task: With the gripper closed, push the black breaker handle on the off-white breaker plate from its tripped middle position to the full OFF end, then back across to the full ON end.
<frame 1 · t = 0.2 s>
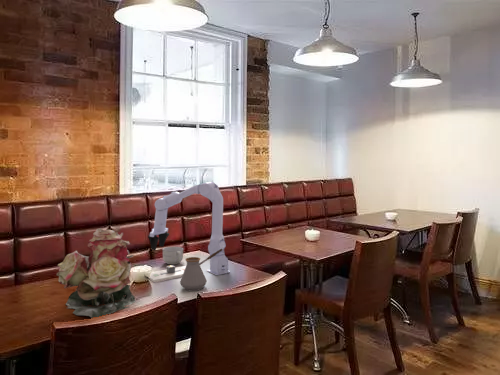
hand: (157, 248, 207), 10 cm above the table, tool pointing down, fingers open, 7 cm apart
rose bouquet: (102, 306, 159), on the table
teacup: (174, 264, 216), on the table
breaker handle: (170, 269, 196), point 3 cm above the table, slide at 3.5 cm
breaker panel: (170, 274, 196), on the table
coffee pot: (203, 286, 180), on the table
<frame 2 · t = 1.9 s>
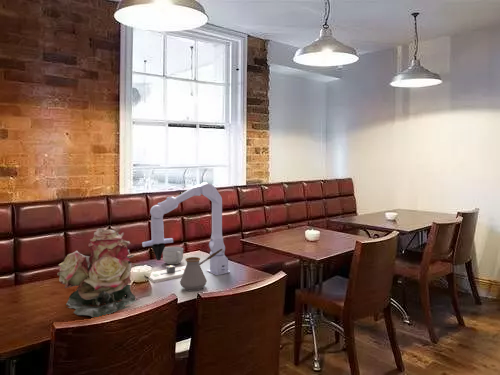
hand: (158, 259, 192), 8 cm above the table, tool pointing down, fingers closed
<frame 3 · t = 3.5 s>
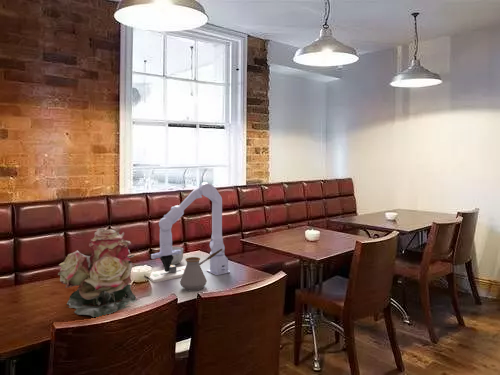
hand: (166, 271, 195), 2 cm above the table, tool pointing down, fingers closed
breaker handle: (172, 268, 197), point 3 cm above the table, slide at 2.8 cm, touching gripper
everything else where it was.
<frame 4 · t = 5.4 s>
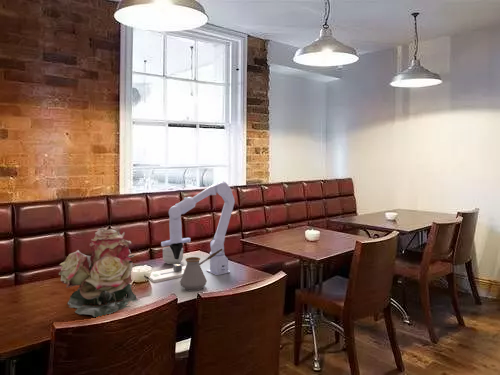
hand: (176, 258, 198), 7 cm above the table, tool pointing down, fingers closed
breaker handle: (177, 267, 198), point 3 cm above the table, slide at -0.1 cm
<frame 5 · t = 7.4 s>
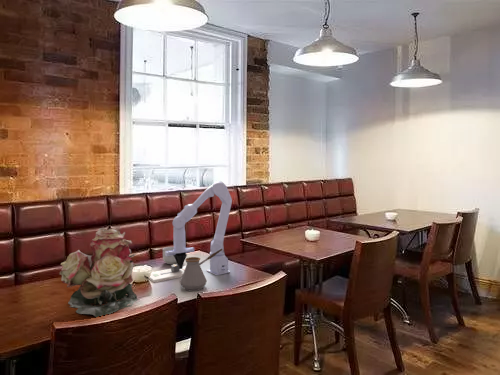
hand: (180, 268, 199), 2 cm above the table, tool pointing down, fingers closed
breaker handle: (175, 268, 197), point 3 cm above the table, slide at 1.2 cm, touching gripper
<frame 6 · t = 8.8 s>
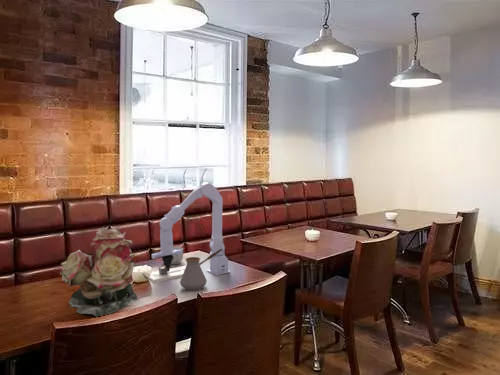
hand: (167, 270, 195), 2 cm above the table, tool pointing down, fingers closed
breaker handle: (163, 270, 194), point 3 cm above the table, slide at 7.3 cm, touching gripper
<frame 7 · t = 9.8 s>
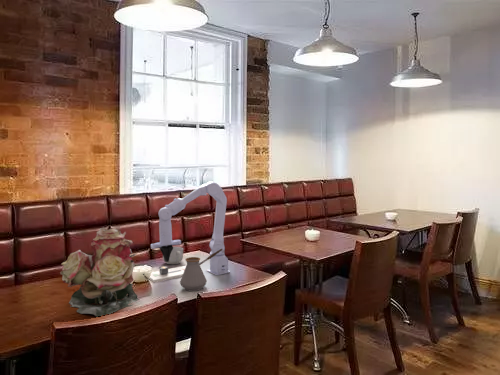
hand: (166, 261, 195), 7 cm above the table, tool pointing down, fingers closed
breaker handle: (163, 270, 194), point 3 cm above the table, slide at 7.1 cm
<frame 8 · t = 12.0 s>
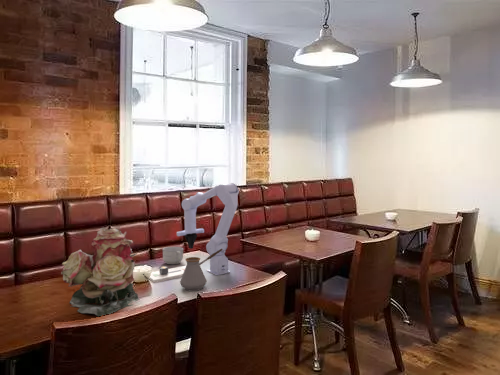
hand: (190, 248, 210), 9 cm above the table, tool pointing down, fingers closed
at the end: breaker handle slide at 7.1 cm; teacup moved 0.3 cm from its start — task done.
